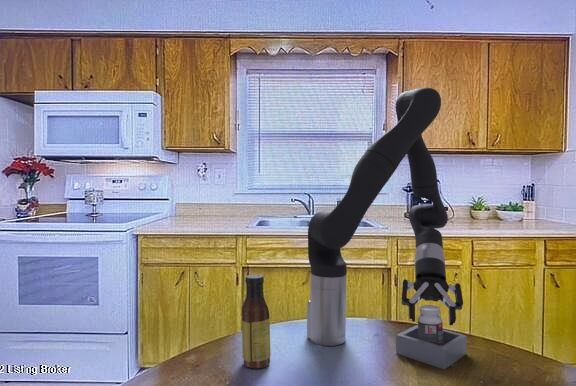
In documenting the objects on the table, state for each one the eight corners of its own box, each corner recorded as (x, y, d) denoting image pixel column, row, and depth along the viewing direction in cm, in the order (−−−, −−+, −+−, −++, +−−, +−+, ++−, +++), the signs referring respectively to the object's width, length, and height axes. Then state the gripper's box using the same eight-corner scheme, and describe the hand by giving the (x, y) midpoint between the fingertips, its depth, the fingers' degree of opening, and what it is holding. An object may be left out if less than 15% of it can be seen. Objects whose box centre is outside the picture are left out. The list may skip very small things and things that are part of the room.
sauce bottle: (274, 360, 98) (275, 274, 97) (264, 372, 92) (265, 280, 91) (248, 356, 100) (249, 271, 99) (236, 367, 94) (237, 277, 93)
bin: (395, 353, 102) (396, 334, 102) (419, 340, 111) (420, 323, 111) (444, 369, 94) (445, 349, 94) (466, 354, 103) (466, 335, 103)
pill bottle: (445, 353, 99) (443, 311, 99) (419, 352, 101) (418, 310, 100) (441, 344, 105) (440, 304, 105) (417, 343, 106) (416, 304, 106)
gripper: (402, 254, 111) (401, 311, 100) (460, 257, 107) (466, 317, 97) (401, 270, 116) (400, 326, 105) (457, 274, 113) (462, 332, 102)
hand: (432, 322), depth 101 cm, fingers open, 8 cm apart
